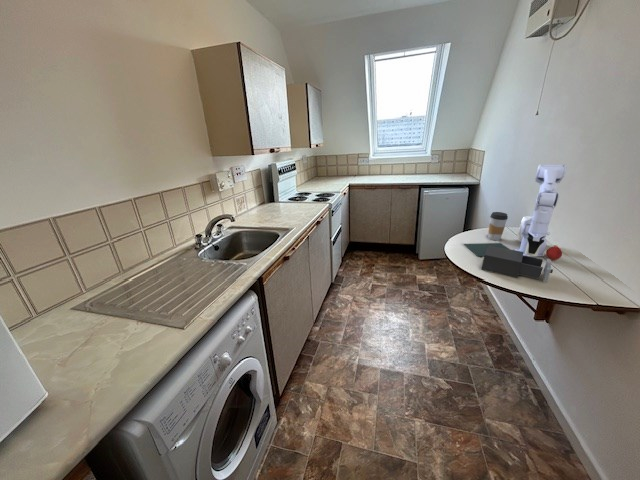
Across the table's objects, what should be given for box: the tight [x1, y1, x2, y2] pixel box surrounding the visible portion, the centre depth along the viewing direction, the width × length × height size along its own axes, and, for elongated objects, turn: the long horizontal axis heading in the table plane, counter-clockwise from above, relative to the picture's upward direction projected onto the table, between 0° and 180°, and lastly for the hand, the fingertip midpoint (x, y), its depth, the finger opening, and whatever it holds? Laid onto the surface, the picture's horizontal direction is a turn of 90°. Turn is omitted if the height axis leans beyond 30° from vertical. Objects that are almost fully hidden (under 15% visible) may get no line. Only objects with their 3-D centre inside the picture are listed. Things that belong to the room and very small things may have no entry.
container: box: [525, 243, 540, 257], centre depth 114 cm, size 4×4×5 cm
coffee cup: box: [487, 211, 509, 241], centre depth 152 cm, size 8×8×15 cm
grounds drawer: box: [518, 255, 554, 283], centre depth 115 cm, size 14×11×6 cm
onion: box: [545, 244, 563, 262], centre depth 126 cm, size 6×6×8 cm
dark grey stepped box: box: [481, 246, 523, 279], centre depth 121 cm, size 14×13×8 cm
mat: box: [463, 242, 510, 258], centre depth 141 cm, size 20×16×1 cm
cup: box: [516, 215, 533, 243], centre depth 145 cm, size 8×8×14 cm
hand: (531, 251), depth 115 cm, fingers closed on container, 4 cm apart
